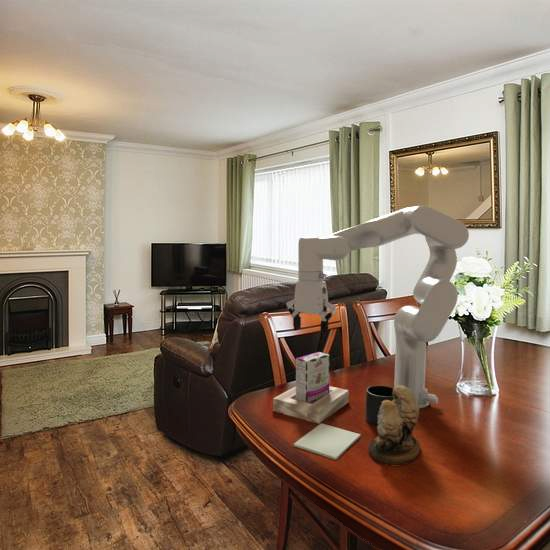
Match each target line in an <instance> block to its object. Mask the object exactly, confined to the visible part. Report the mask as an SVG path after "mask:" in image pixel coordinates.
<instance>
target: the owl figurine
mask: <svg viewBox="0 0 550 550" xmlns="http://www.w3.org/2000/svg"><path fill="white" fill-rule="evenodd" d="M393 388H394V389H393V393H392V394H393V398H394V399H393V401H389V400H384V401H382V405H381V406H380V411H379V415H378V416H377V417H378V426H376V427H377V436H376V437H375V438H373V439H372V440H371V441H370V442H369V445H368V453H369V456H370V457H371V458H372V459H373V461H375V462H378V463H379V462H380V464H381V463H382V465H385V464H387V465H386V466H390V465H401V466H404V465H403V464H405V465H407V464H406V463H408V464H410V463H412V462H414V461H415V460H416V459H417V458H418V457H419V454H420V452H421V445H420V441H418V439H417V438H415V436H414V435H413V431H415V427H416V426H417V424H418V419H419V415H420V408H419V405H418V404H417V402H416V401H415V397H414V395H413V393H412V392H411V390H410V389H408V388H407V387H405V386H402V385H397V386H395V387H394V386H393ZM416 457H417V458H416ZM414 459H415V460H414ZM413 460H414V461H413ZM411 461H412V462H411ZM409 462H410V463H409Z"/></svg>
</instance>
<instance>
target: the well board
mask: <svg viewBox="0 0 550 550" xmlns="http://www.w3.org/2000/svg"><path fill="white" fill-rule="evenodd" d="M349 392H350V390H349V389H344V388H340V387H336V386H335V387H334V386H332V385H329V394H327V395H326V396H324V397H322V398H321V399H319V400H318V401H316V402H315V403H313V404H310V403H306V402H302V401H298V400H296V385H295V386H293V387H292V388H290V389H288V390H286V391H284V392H282V393H281V394H279V395H278V396H275V397H274V398H273V399H272V400H273V401H272V405H273V407H272V411H273V412H275V411H276V413H280V414H282V413H283V414H282V415H285V416H289V417H293V418H297V419H301V420H303V421H304V420H305V421H308V422H311V423H315V424H318V425H320V424H321V423H322V422H323V421H325V420H327V419H328V418H329V417H330V416H332V415H333V414H335V413H336V412H338V410H340V409H341V408H343V407H344V406H345V405H347V404H348V403H349V397H350V396H349V394H350V393H349Z"/></svg>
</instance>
